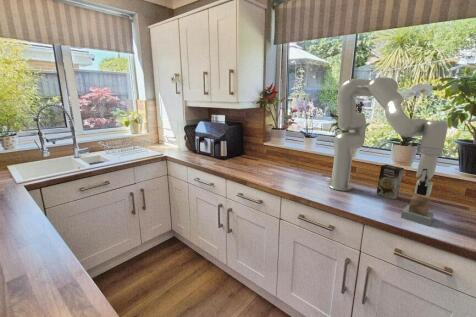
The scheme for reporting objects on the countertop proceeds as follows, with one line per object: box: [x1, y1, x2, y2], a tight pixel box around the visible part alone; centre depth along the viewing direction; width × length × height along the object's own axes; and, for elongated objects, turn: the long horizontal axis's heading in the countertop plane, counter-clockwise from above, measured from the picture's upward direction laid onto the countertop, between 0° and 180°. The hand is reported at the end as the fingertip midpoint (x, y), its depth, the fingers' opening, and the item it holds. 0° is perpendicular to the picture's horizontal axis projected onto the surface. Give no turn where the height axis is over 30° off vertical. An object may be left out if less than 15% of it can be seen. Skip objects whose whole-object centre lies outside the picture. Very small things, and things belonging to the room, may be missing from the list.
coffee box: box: [375, 164, 405, 200], centre depth 134 cm, size 9×6×16 cm
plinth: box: [400, 204, 435, 227], centre depth 110 cm, size 10×10×3 cm
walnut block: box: [409, 194, 431, 216], centre depth 109 cm, size 6×6×6 cm
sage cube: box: [413, 179, 434, 198], centre depth 107 cm, size 5×5×5 cm
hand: (422, 192), depth 108 cm, fingers closed on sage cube, 5 cm apart
